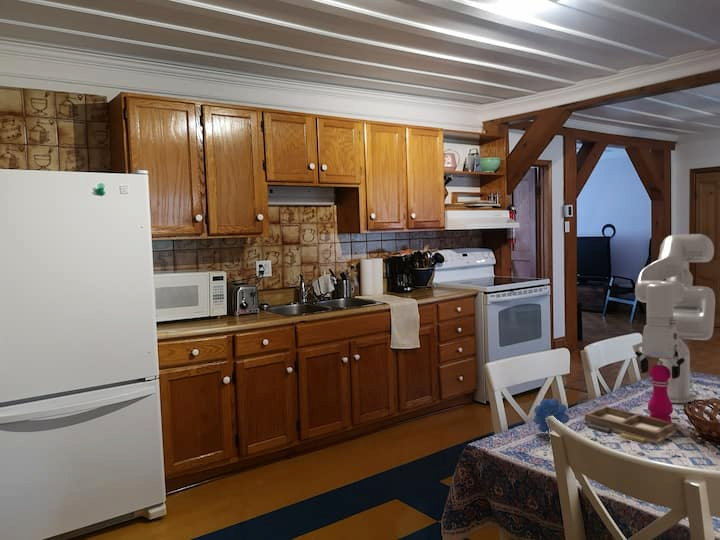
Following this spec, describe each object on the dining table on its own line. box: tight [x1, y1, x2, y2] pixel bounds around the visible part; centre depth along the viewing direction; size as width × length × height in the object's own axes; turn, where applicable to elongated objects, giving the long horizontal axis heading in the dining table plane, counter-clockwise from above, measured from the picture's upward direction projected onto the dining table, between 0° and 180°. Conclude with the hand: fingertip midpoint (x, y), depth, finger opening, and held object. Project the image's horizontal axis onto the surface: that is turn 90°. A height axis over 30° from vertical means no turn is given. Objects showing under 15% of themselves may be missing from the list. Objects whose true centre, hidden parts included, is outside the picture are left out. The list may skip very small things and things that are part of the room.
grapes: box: [533, 397, 570, 434], centre depth 176 cm, size 12×7×12 cm, turn 43°
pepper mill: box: [647, 359, 674, 422], centre depth 182 cm, size 7×7×20 cm
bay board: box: [584, 405, 677, 444], centre depth 178 cm, size 14×23×3 cm, turn 36°
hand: (659, 375), depth 182 cm, fingers open, 9 cm apart
